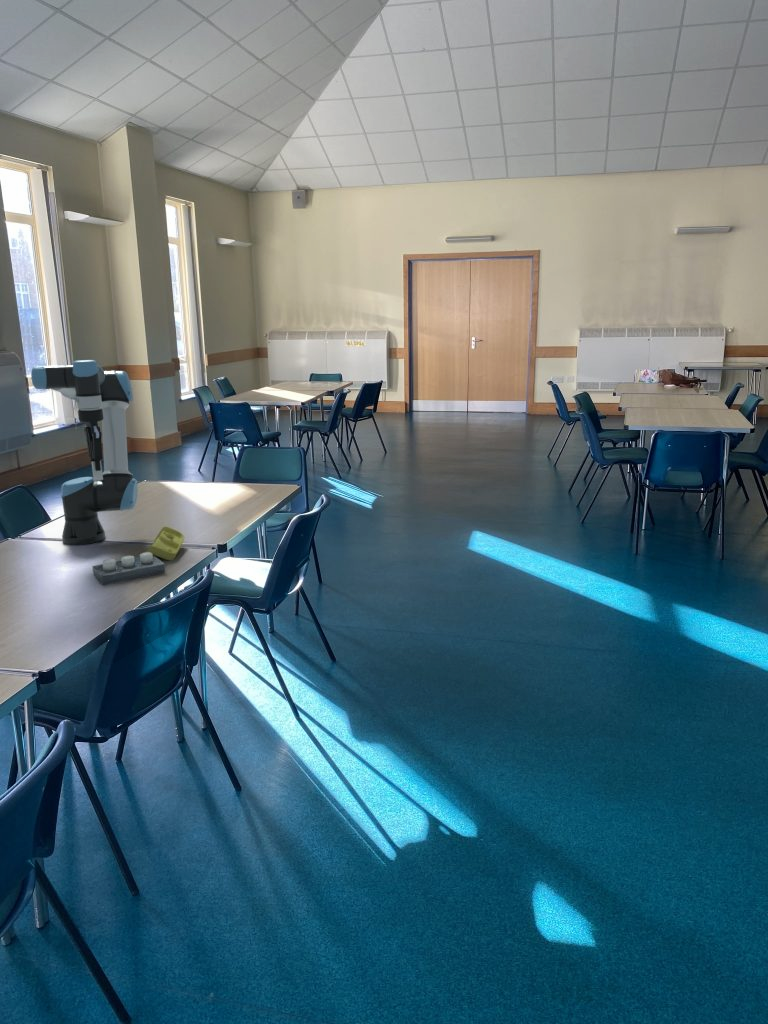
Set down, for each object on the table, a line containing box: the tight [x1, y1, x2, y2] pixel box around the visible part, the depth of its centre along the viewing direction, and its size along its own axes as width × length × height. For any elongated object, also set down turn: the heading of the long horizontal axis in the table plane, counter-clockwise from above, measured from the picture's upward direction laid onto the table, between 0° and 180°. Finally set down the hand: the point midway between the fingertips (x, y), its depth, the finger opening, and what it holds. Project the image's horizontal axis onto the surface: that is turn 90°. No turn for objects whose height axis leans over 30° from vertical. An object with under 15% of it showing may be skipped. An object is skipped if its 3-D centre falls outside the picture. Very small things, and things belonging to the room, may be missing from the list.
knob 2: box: [139, 551, 153, 563], centre depth 250 cm, size 4×4×5 cm
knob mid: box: [120, 555, 135, 567], centre depth 247 cm, size 4×4×5 cm
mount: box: [92, 554, 166, 586], centre depth 247 cm, size 12×20×3 cm, turn 124°
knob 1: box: [101, 558, 117, 571], centre depth 243 cm, size 4×4×5 cm
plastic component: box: [146, 525, 185, 561], centre depth 268 cm, size 20×7×10 cm
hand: (98, 479), depth 250 cm, fingers closed
